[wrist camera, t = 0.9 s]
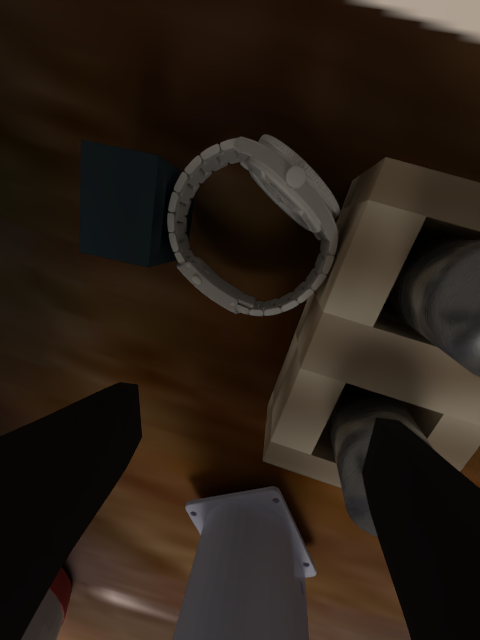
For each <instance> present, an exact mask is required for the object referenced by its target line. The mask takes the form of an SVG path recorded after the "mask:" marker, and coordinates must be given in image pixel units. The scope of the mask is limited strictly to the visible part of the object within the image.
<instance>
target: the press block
mask: <svg viewBox="0 0 480 640" xmlns="http://www.w3.org/2000/svg"><path fill="white" fill-rule="evenodd" d="M336 226H337V229H338V232H339V233H338V244H337V249H336V253H335V255H333V256H334V260H333V263H332V266H331V268H330V270H329V272H328V274H325V275H326V278H325V279H324V281H323V282H322V284H321V285H320V286H319V288H318V289H317V290H315V291H314V290H313V291H314V293H313V294H312V295H311V296H310V297H309V298H308V299H307V302H306V305H305V307H304V310H303V313H302V315H301V318H300V321H299V323H298V326H297V329H296V331H295V334H294V337H293V339H292V342H291V345H290V347H289V350H288V352H287V355H286V358H285V360H284V363H283V366H282V368H281V371H280V374H279V376H278V379H277V382H276V384H275V387H274V390H273V392H272V395H271V398H270V400H269V403H268V406H267V417H266V429H265V440H264V451H263V462H266V463H269V464H272V465H275V466H278V467H281V468H284V469H287V470H290V471H293V472H296V473H299V474H302V475H305V476H308V477H311V478H313V479H316V480H319V481H322V482H325V483H328V484H331V485H334V486H337V487H340V488H342V487H341V483H340V478H339V474H338V470H337V465H336V461H335V456H334V452H333V447H332V443H331V438H330V434H329V430H328V425H327V421H328V419H329V417H330V415H331V412H332V410H333V408H334V406H335V404H336V402H337V400H338V398H339V396H340V394H341V392H342V390H343V388H344V386H345V384H346V383H348V384H351V385H354V386H357V387H361V388H364V389H367V390H370V391H373V392H376V393H379V394H382V395H386V396H389V397H392V398H395V399H398V400H400V401H401V402H402V403H403V405H404V406H405V408H406V409H407V411H408V412H409V414H410V415H411V416H412V418H413V419H414V421H415V422H416V424H417V425H418V427H419V428H420V430H421V431H422V433H423V434H424V435H425V437H426V438H427V440H428V441H429V443H430V444H431V446H432V447H433V449H434V450H435V451H436V452H437V453H439V454H440V455H441V456H442V457H443V458H444V459H445V460H447V461H448V462H449V463H450V464H451V465H452V466H454V467H455V468H456V469H457V470H458V471H459V472H460V471H461V469H462V468H463V467H464V466H465V464H466V463H467V462H468V460H469V459H470V458H471V456H472V455H473V454H474V453H475V451H476V450H477V449H478V447H479V446H480V377H478V376H476V375H474V374H472V373H471V372H470V371H468V370H467V369H466V368H464V367H463V366H462V365H460V364H459V363H458V362H456V361H455V360H454V359H452V358H451V357H450V356H449V355H447V354H446V353H445V352H443V351H442V350H441V349H439V348H438V347H437V346H435V345H434V344H433V343H432V342H430V341H429V340H428V339H426V338H425V337H424V336H422V335H421V334H420V333H419V332H417V331H416V330H415V329H413V328H412V327H411V326H409V325H408V324H407V323H405V322H404V321H403V320H402V319H400V318H399V317H398V316H397V315H396V314H395V313H392V312H389V311H385V310H382V307H383V305H384V303H385V301H386V299H387V297H388V295H389V293H390V291H391V289H392V287H393V285H394V283H395V281H396V278H397V276H398V274H399V272H400V270H401V268H402V266H403V264H404V262H405V260H406V258H407V256H408V254H409V252H410V250H411V248H412V245H413V243H414V241H415V239H416V237H417V235H418V233H419V231H420V232H424V233H427V234H431V235H434V236H438V237H441V238H445V239H464V240H480V182H476V181H472V180H469V179H465V178H461V177H458V176H454V175H450V174H447V173H443V172H439V171H436V170H432V169H428V168H425V167H421V166H417V165H414V164H410V163H406V162H403V161H399V160H395V159H392V158H388V157H385V158H384V159H382V160H381V161H379V162H378V163H377V164H375V165H374V166H372V167H371V168H369V169H368V170H367V171H365V172H364V173H362V174H361V175H359V176H358V177H357V178H355V179H354V180H352V183H351V185H350V188H349V191H348V193H347V196H346V199H345V201H344V204H343V207H342V209H341V212H340V214H339V217H338V220H337V222H336Z"/></svg>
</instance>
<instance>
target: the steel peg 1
mask: <svg viewBox="0 0 480 640" xmlns="http://www.w3.org/2000/svg"><path fill="white" fill-rule="evenodd" d="M376 417H378V418H385V419H392V420H399V421H400V422H402V423H403V424H404V425H406V426H407V427H408V428H409V429H410V430H412V431H413V432H414V433H415V434H416V435H418V436H419V437H420V438H421V439H422V440H423V441H425V442H426V443H427V444H428V445H429V446H430V447H432V446H431V444H430V443H429V441H428V440H427V438H426V437H425V435H424V434H423V433H422V431H421V430H420V428H419V427H418V425H417V424H416V422H415V421H414V419H413V418H412V416H411V415H410V414H409V412H408V411H407V409H406V408H405V406H404V405H403V403H402V402H401V401H400V400H398V399H395V398H392V397H389V396H386V395H382V394H379V393H376V392H373V391H370V390H367V389H364V388H361V387H354V388H351V389H348V390H346V391H344V392H342V393H341V394H340V396H339V398H338V400H337V402H336V404H335V406H334V408H333V410H332V412H331V415H330V417H329V419H328V421H327V425H328V430H329V434H330V438H331V443H332V447H333V452H334V456H335V461H336V465H337V470H338V474H339V478H340V483H341V487H342V492H343V496H344V501H345V505H346V509H347V512H348V514H349V516H350V517H351V519H352V520H353V521H354V522H355V524H356V525H357V526H359V527H360V528H361V529H363V530H364V531H366V532H367V533H369V534H371V535H373V536H376V537H378V536H377V532H376V529H375V526H374V523H373V520H372V517H371V514H370V510H369V506H368V501H367V497H366V492H365V487H364V482H363V477H362V469H363V466H364V462H365V458H366V454H367V450H368V446H369V443H370V439H371V435H372V431H373V427H374V423H375V419H376ZM432 448H433V447H432Z"/></svg>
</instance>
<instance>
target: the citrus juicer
mask: <svg viewBox="0 0 480 640" xmlns="http://www.w3.org/2000/svg"><path fill="white" fill-rule="evenodd" d="M71 590H72V586H71V583H70V579H69V577H68V576H67V574H66V572H65V571H64V570H63V568H62V567H61V569H60V570H59V572H58V574H57V576H56V577H55V579H54V581H53V583H52V585H51V586H50V588H49V590H48V592H47V593H46V595H45V597H44V599H43V601H42V602H41V604H40V606H39V608H38V609H37V611H36V613H35V615H34V617H33V618H32V620H31V622H30V624H29V626H28V627H27V629H26V631H25V633H24V635H23V637H22V639H21V640H56V639H57V636H58V633H59V630H60V627H61V625H62V624H63V621H64V619H65V615H66V612H67V608H68V604H69V600H70V596H71Z"/></svg>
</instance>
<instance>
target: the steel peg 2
mask: <svg viewBox="0 0 480 640" xmlns="http://www.w3.org/2000/svg"><path fill="white" fill-rule="evenodd" d="M389 301H390V304H391V307H392V309H393V310H394V312H395V313H396V315H397V316H398V317H399V318H400V319H402V320H403V321H404V322H405V323H407V324H408V325H409V326H411V327H412V328H413V329H415V330H416V331H417V332H419V333H420V334H421V335H422V336H424V337H425V338H426V339H428V340H429V341H430V342H432V343H433V344H434V345H435V346H437V347H438V348H439V349H441V350H442V351H443V352H445V353H446V354H447V355H449V356H450V357H451V358H452V359H454V360H455V361H456V362H458V363H459V364H460V365H462V366H463V367H464V368H466V369H467V370H468V371H470V372H471V373H472V374H474V375H476V376H478V377H480V240H464V239H439V240H434V241H431V242H427V243H425V244H423V245H421V246H419V247H417V248H415V249H414V250H412V251H411V252H409V254H408V256H407V258H406V260H405V262H404V264H403V266H402V268H401V270H400V272H399V274H398V276H397V278H396V281H395V283H394V285H393V287H392V289H391V291H390V293H389Z"/></svg>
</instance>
